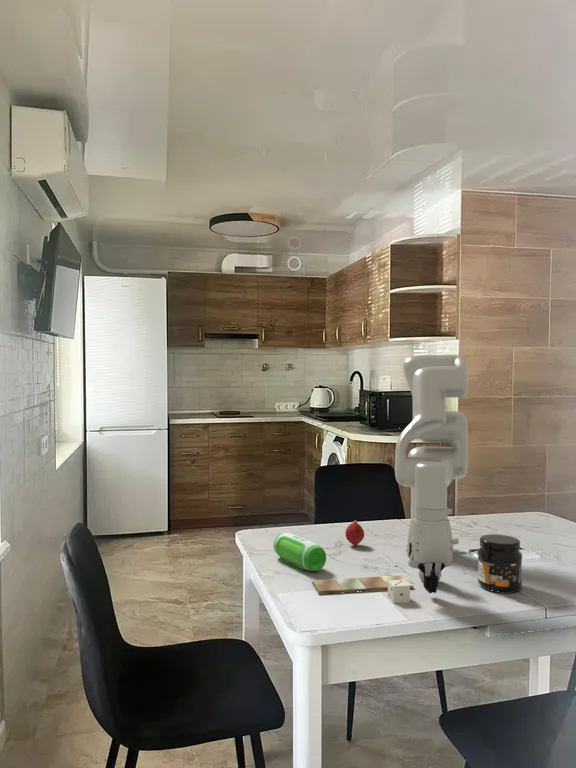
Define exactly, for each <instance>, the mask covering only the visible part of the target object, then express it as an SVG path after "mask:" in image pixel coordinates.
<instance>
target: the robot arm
mask: <svg viewBox="0 0 576 768" xmlns="http://www.w3.org/2000/svg"><path fill="white" fill-rule="evenodd" d="M402 366H403V374H404V378H405V380H406V383H407V385H408V387H409V389H410V392H411V396H412V420H411V422H410V423H409V424H408V425H406V427H405V428H404V429H403V430H402V431H401V434H400V435H399V436H398V438H397V441H396V445H395V453H394V454H395V455H394V457H395V458H394V476H395V480H396V482H397V483H398V485H400V486H401V487H402V486H403V487H406V488H410V523H409V528H408V535H407V543H406V545H405V550H406V553H407V557H408V559H409V560H408V566H409V567H410V568H413V569H418V570H419V569H420V570H421V571H422V573H423V582H422V583H423V588H424V590H425V591H427V592H428V593H429V594H432V593H433V594H434V593H435V594H436V593H437V588H439V582H438V576H439V575H440V572H441V573H442V571H443V570H444V569H445V568H447V567H448V568H449V567H450V566H451V567H452V565H454V562H453V559H454V558H453V557H454V545H459V543H460V541H459V538H458V537H453V533H452V526H451V522H450V520H449V519H448V518H449V515H452V514H453V509H452V508H448V486H450V485H451V483H452V482H453V480H460V479H461V480H462V479H463V478H465V477H466V476H467V474H468V469H469V468H468V467H469V427H468V420H467V417H466V415H465V414H464V413H463V412H461V411H456V410H455V411H454V410H446V398H464V397H465V396H466V395H467V393H468V391H469V383H470V382H469V374H468V368H467V364H466V361H465V358H464V357H463V356H462V355H460V354H416V355H410V356H408V357H406V358H405V359H404V361H403V365H402ZM414 440H416V441H418V442H421V443H433V444H434V443H435V444H437V443H439V444H450V445H451V446H427V445H425V446H416V447H414V448H412V449H411V450H410V451H409V452H408V454H407V449H408V446H409V445H410V444H411V442H413V441H414ZM429 563H432V564H431V571H430V566H429Z"/></svg>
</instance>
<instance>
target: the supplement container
mask: <svg viewBox="0 0 576 768" xmlns="http://www.w3.org/2000/svg"><path fill="white" fill-rule="evenodd" d="M479 546H480V547H479V548H478V550H477V556H478V558H477V563H478V564H477V565H478V567H477V568H478V569H477V570H478V571H477V573H478V576H477V582H478V585H480V586H481V587H482V588H483V587H484V588H483V589H485V588H486V590H487V589H489V590H488V591H490V590H493V591H492V592H494V591H499V592H498V593H500V592H512V593H515V592H514V591H516V592H518V591H519V590H521V588H522V586H523V581H522V580H523V579H522V578H523V577H522V576H523V574H522V573H523V569H522V568H523V566H522V565H523V564H522V562H523V561H522V560H523V553H522V552H521V551H520V550H521V541H520V540H519V539H518V538H517V537H515V536H511V535H506V534H497V533H495V534H492V533H491V534H485V535H481V536H480V537H479Z"/></svg>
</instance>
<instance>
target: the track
mask: <svg viewBox="0 0 576 768" xmlns="http://www.w3.org/2000/svg"><path fill="white" fill-rule="evenodd" d="M390 580H405V581H406V582H407V583H408V584H409V585H410V590H414V586H413V584H412V583H411V582H410V581H409V580H407V579H406V578H405V577H404V575H386V576H385V575H384V576H383V575H382V576H369V577H367V576H366V577H349V578H336V579H335V578H334V579H333V578H332V579H317V580H315V579H314V580H312V582H311V583H312V585H313V587H314V588H315V590H316V592H317V594H318V595H319V596H320V595H321V596H322V595H337V594H336V593H339V594H343V593H342V592H355V593H361V592H360V591H371V592H383V591H384V592H385V591H387V592H388V581H390ZM357 591H359V592H357Z"/></svg>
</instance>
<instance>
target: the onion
mask: <svg viewBox="0 0 576 768" xmlns="http://www.w3.org/2000/svg"><path fill="white" fill-rule="evenodd" d="M344 534H345V538H346V540H347V541H348V542H349V543H350V544H351V545H353V546H354V547H357V546H358V545H359V544H360V543H361V542H362V541H364V538H365V531H364V529H363V527H362V526H361V525H360V524H359V523H358V521H357V520H354V521H352V523H350V524H349V525H348V526H347V528H346V529H345V533H344Z"/></svg>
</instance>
